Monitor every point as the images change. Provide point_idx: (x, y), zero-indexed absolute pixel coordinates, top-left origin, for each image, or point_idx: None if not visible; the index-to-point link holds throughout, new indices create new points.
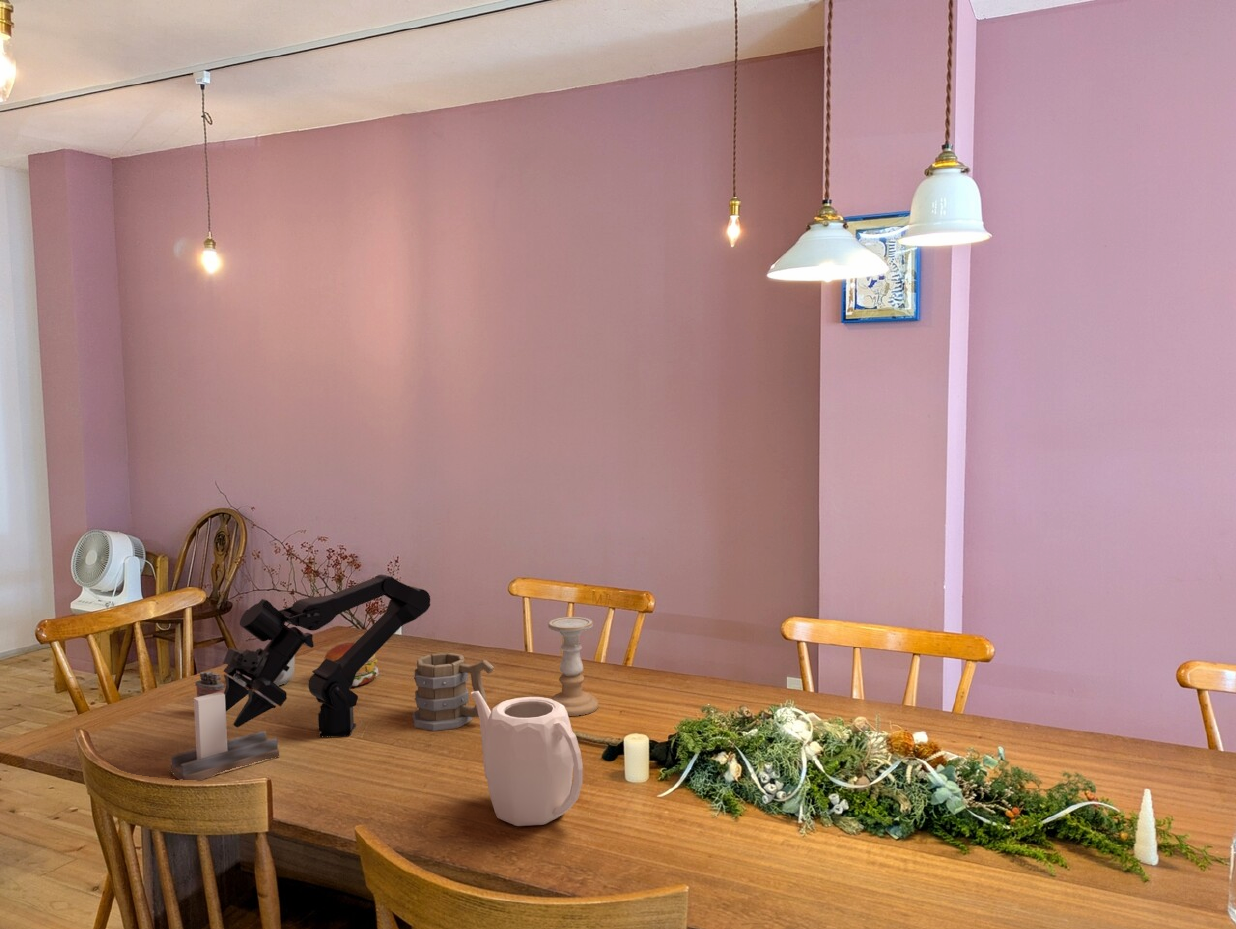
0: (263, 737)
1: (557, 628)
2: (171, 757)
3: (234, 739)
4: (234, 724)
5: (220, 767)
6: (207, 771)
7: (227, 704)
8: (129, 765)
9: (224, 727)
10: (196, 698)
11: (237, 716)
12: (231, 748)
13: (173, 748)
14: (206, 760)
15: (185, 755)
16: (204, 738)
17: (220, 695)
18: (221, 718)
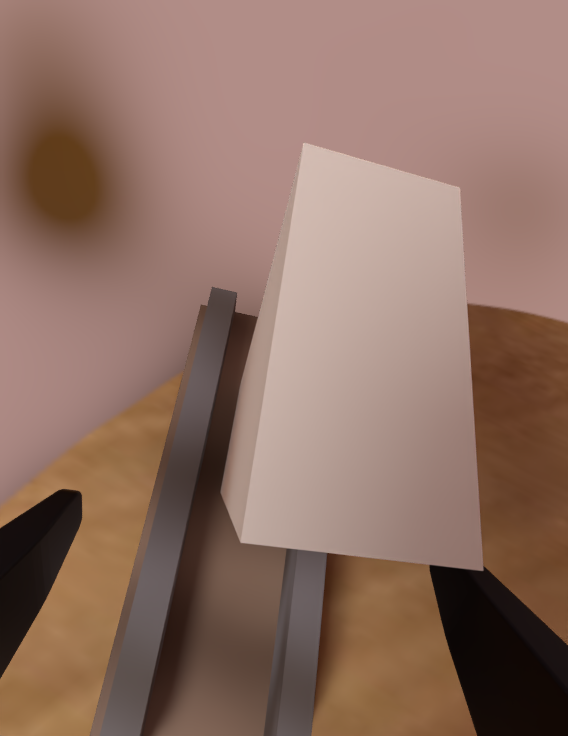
0: None
1: None
2: None
3: (312, 589)
4: (57, 494)
5: (170, 427)
6: (182, 378)
7: (491, 679)
8: (474, 312)
9: (226, 485)
10: (417, 189)
11: (24, 545)
12: (288, 552)
13: (525, 453)
14: (191, 371)
15: None
16: (246, 367)
17: (257, 446)
18: (232, 464)
